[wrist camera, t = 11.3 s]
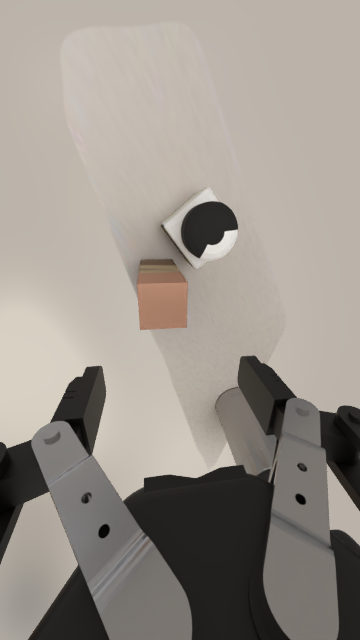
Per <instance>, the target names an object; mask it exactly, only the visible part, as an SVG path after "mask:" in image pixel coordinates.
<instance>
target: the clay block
mask: <svg viewBox="0 0 360 640" xmlns="http://www.w3.org/2000/svg"><path fill="white" fill-rule="evenodd" d="M137 290H138V305H139V319H140V330H146V329H166V328H187V292H188V282H187V281H186V279H185V278H184V276H183V275H182V273H181V272H167V273H139V275H138V281H137Z"/></svg>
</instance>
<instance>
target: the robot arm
mask: <svg viewBox="0 0 360 640" xmlns="http://www.w3.org/2000/svg"><path fill="white" fill-rule="evenodd" d="M238 385H239V388H234V389H231V390H228V391H226V392H225V393H223V394H222V395H221V396H220V397H219V399H218V400H217V403H216V411H217V413H218V416H219V419H220V422H221V425H222V427H223V430H224V433H225V435H226V438H227V441H228V444H229V446H230V449H231V452H232V454H233V457H234V460H235V462H236V465H237V466H229V467H223V468H218V469H216V470H214V471H212V472H210V473H207V474H205V475H203V476H201V477H198V478H190V477H182V476H176V475H163V476H156V477H149V478H144V487H143V488H141V489H139V490H137V491H136V492H134V493H132V494H131V495H130V496H129V497H127V498H126V499H125V500H124V501H122V499H121V498H120V496H119V495H118V493H117V492H116V490H115V488H114V487H113V485H112V484H111V482H110V481H109V479H108V478H107V476H106V475H105V473H104V471H103V470H102V468H101V467H100V465H99V464H98V462H97V461H96V459H95V458H94V456H93V455H92V453H93V448H94V444H95V440H96V436H97V432H98V428H99V423H100V419H101V415H102V411H103V407H104V403H105V397H106V387H105V381H104V375H103V369H102V366H93V367H87V368H86V369H85V372H84V374H83V376H82V377H76V378H75V379H74V380H73V381H72V382H71V383H69V385H68V387H67V389H66V391H65V393H64V395H63V397H62V400H61V402H60V404H59V406H58V408H57V410H56V412H55V414H54V416H53V418H52V420H51V422H50V423H49V424H47V425H45V426H44V427H42V428H41V429H40V430H39V431H38V432H37V433H36V434H35V435H34V437H33V439H32V440H29V441H27V442H24V443H21V444H19V445H16V446H13V447H10V448H6V446H5V444H3V443H2V442H0V564H1V561H2V558H3V555H4V553H5V551H6V548H7V545H8V543H9V540H10V538H11V535H12V533H13V530H14V527H15V525H16V522H17V520H18V517H19V514H20V512H21V509H22V507H23V504H24V503H25V502H27V501H29V500H32V499H34V498H36V497H38V496H40V495H43V494H45V493H47V492H50V494H51V497H52V499H53V502H54V504H55V507H56V509H57V512H58V514H59V517H60V519H61V522H62V524H63V527H64V529H65V532H66V534H67V537H68V539H69V542H70V545H71V547H72V549H73V552H74V555H75V557H76V560H77V562H78V566H77V568H76V569H75V571H74V572H73V574H72V575H71V577H70V578H69V580H68V581H67V582H66V584H65V585H64V587H63V588H62V590H61V591H60V593H59V594H58V596H57V597H56V599H55V600H54V602H53V603H52V605H51V606H50V608H49V609H48V611H47V612H46V614H45V615H44V617H43V618H42V620H41V621H40V623H39V624H38V626H37V627H36V629H35V630H34V631H33V633H32V635H31V636H30V637H29V639H28V640H360V546H359V545H358V544H357V543H356V542H355V541H354V540H353V539H352V538H351V537H350V536H349V535H348V534H346V533H345V532H343V531H341V530H330V528H329V508H328V488H327V466H326V463H327V464H328V466H329V467H330V469H331V470H332V471H333V473H334V474H335V476H336V477H337V479H338V480H339V482H340V483H341V485H342V486H343V488H344V489H345V490H346V492H347V493H348V495H349V496H350V498H351V499H352V501H353V502H354V504H355V505H356V507H357V508H358V509H359V511H360V409H358V408H355V407H352V406H340V407H339V408H338V410H337V413H329V412H324V411H318V409H317V408H316V407H315V406H314V405H313V404H312V403H310V402H308V401H306V400H304V399H300V398H297V397H296V396H295V395H294V394H293V392H292V391H291V390H290V389H289V388H288V387H287V386H286V384H285V383H284V382H283V381H282V380H281V378H280V377H279V376H277V374H276V373H275V371H274V370H273V369H272V368H271V367H269V366H267V365H266V364H264V363H262V364H261V362H260V361H259V360H258V359H257V357H256V356H242V357H241V359H240V365H239V372H238Z"/></svg>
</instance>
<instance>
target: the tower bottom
mask: <svg viewBox="0 0 360 640" xmlns="http://www.w3.org/2000/svg"><path fill="white" fill-rule="evenodd" d="M140 265H175V263H174V262H173V260H172V259H163V260H141V262H140Z"/></svg>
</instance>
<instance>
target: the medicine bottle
mask: <svg viewBox="0 0 360 640" xmlns="http://www.w3.org/2000/svg"><path fill="white" fill-rule="evenodd" d="M161 227H162V228H163V230H164V231H165V232H166V234H167V235H168V236H169V238H170V239H171V240H172V242H173V243H174V245H175V246H176V247H177V249H178V250H179V251H180V253H181V254H182V255H183V257H184V258H185V259H186V261H187V262H188V263H189V264H190V265H191V266H192V267H193V268H194V269H198V268H200V267H201V266H202V265H203V264H205V263H206V262H207V261H213V260H217V259H220V258H222V257H223V256H225V255H226V254H227V253H228V252H229V251H230V250H231V249H232V247H233V246H234V244H235V242H236V239H237V237H238V224H237V220H236V217H235V215H234V213H233V212H232V210H231V209H230V208H229V207H228V206H226V205H225V204H223V203H221V202H219V201H218V200H217V198H216V196H215V195H214V193H213V191H212V189H211V188H210V187H206V188H205V189H203V190H201V191H200V192H198V193H196V194H195V195H194V196H193V197H191V198H190V199H189V200H188V201H187V202H186V203H184V204H183V205H182V206H181V207H180V208H179V209H178V210H176V211H175V212H174V213H173V214H172V215H171V216H170V217H168V218H167V219H166V220H165V221H164V222H163V223H162V224H161Z"/></svg>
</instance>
